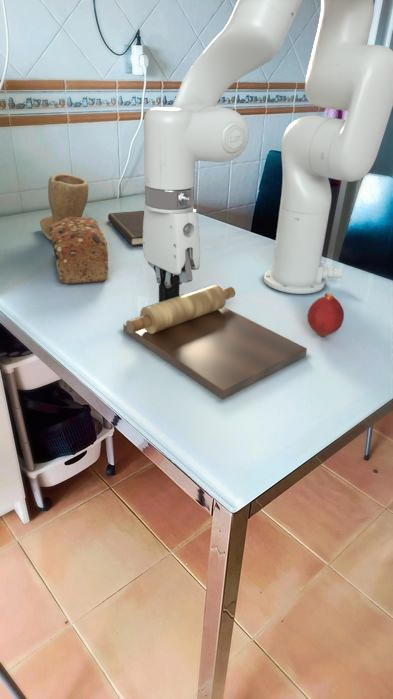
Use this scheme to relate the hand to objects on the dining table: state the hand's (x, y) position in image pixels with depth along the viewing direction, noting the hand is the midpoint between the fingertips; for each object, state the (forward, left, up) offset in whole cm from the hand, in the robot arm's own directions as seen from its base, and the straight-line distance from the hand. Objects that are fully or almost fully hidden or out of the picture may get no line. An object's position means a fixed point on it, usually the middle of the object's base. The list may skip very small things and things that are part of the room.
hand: (169, 305), depth 83 cm
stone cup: (+29, -45, -3) cm, 53 cm away
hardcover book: (+9, -52, -3) cm, 53 cm away
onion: (-26, +4, -3) cm, 27 cm away
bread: (+21, -23, -3) cm, 31 cm away
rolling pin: (-3, +3, -1) cm, 4 cm away
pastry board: (-7, +8, -3) cm, 11 cm away
